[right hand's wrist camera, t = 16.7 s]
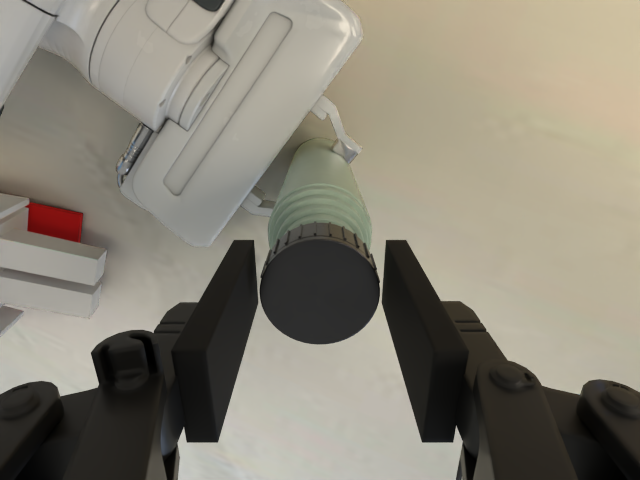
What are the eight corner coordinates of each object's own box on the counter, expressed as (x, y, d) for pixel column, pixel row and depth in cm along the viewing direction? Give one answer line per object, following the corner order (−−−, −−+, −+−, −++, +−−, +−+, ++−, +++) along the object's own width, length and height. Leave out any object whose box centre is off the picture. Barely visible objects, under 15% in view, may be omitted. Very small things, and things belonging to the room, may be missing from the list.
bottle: (282, 153, 35) (221, 257, 13) (333, 127, 34) (355, 194, 12) (307, 202, 36) (289, 364, 15) (356, 179, 35) (412, 315, 14)
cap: (336, 335, 16) (338, 363, 14) (245, 288, 15) (236, 312, 13) (396, 256, 15) (406, 277, 13) (300, 199, 14) (297, 213, 12)
